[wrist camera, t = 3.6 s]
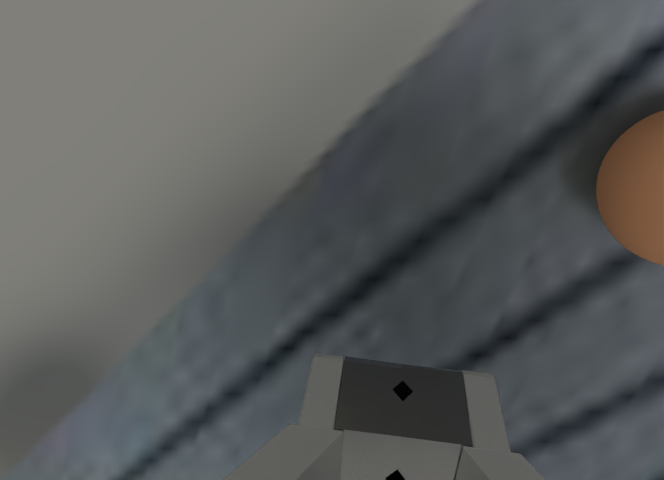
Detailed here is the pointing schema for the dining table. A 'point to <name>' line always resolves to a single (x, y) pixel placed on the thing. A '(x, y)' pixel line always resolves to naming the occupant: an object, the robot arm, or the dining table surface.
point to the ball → (635, 189)
